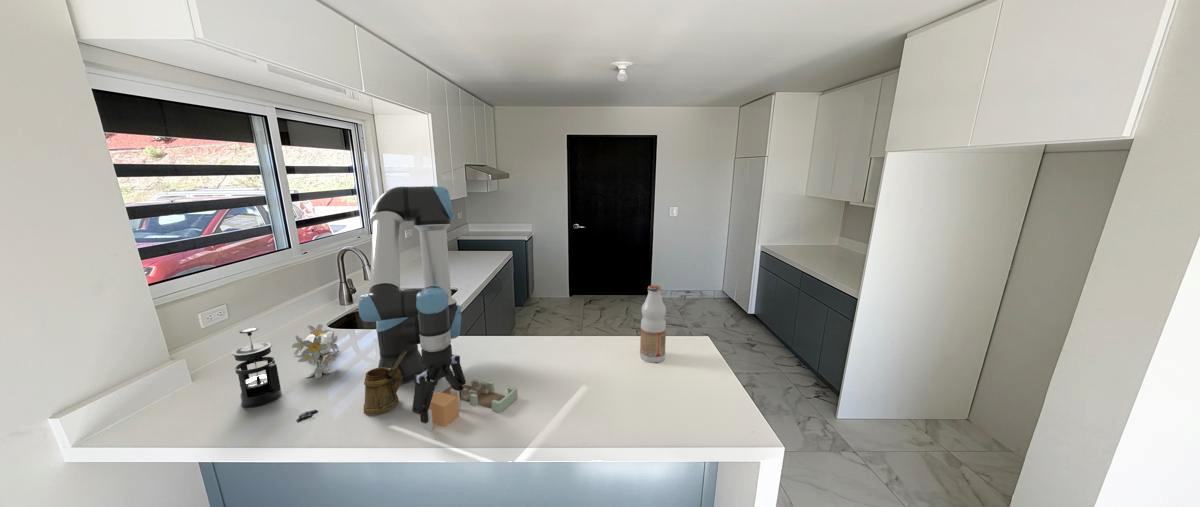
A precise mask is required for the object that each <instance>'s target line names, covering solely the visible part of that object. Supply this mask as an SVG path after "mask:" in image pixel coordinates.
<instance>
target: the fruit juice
mask: <svg viewBox="0 0 1200 507" xmlns="http://www.w3.org/2000/svg"><path fill="white" fill-rule="evenodd" d="M647 292H648V293H647V296H646V298H645V301H644V303H643V304H642V305H641V315H642V318H641V320H640V339H639V340H640V342H639V343H640V346H639V347H640V348H639V349H640V350H639V355H640V358H641V359H642V361H644V362H646V361H647V362H648V363H651V362H652V363H653V364H655V362H657V363H660V362H663V361H664V360H665V357H666V339H667V338H666V336H667V333H666V330H667V321H666V318H665V317H666V315H667V308H666V305H665V303H664V301H663V297H662V295H661V292H662V287H661V286H660V285H653V284H652V285H648V287H647ZM662 360H663V361H662Z"/></svg>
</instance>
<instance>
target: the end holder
mask: <svg viewBox="0 0 1200 507" xmlns="http://www.w3.org/2000/svg"><path fill="white" fill-rule="evenodd" d="M486 383H488V389H489V392H491V393H495V382H494V381H490V380H489V381H487V382H486ZM518 395H519V394H518V388H516V387H512V386H508V387H507V394H506V395H504V396H505V397H504V398H503V399H501V400H500V401H497V400H493V401H491V402H492V409H491V411H492V412H495V413H498V414H501V413H503V412H504V411H505V410H506V409H507V408H508V407H510V406H511V405H512V404H513V403H514V402H515V401H517V399H518V398H519V396H518ZM514 400H515V401H514ZM513 401H514V402H513ZM512 402H513V403H512ZM469 403H470V405H472V406H475V407H476V406H479V405H478V396H477V395H476V394H471V395H470V402H469ZM511 403H512V404H511ZM510 404H511V405H510ZM509 405H510V406H509ZM506 407H507V408H506ZM505 408H506V409H505ZM504 409H505V410H504ZM503 410H504V411H503ZM502 411H503V412H502Z"/></svg>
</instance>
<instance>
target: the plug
mask: <svg viewBox="0 0 1200 507" xmlns="http://www.w3.org/2000/svg"><path fill="white" fill-rule="evenodd" d="M429 409H430V410H431V411H432V422H433V424H437V425H440V426H442V427H445V428H446V427H447V426H448V425H450V424H451V423H453V421H455V420H456V419H457V418H458V417H460V414H459V411H460V410H458V397H456V396H453V395H449V394H446V393H443V391H437V392H436V393H433V396H432V400H431V403H430V407H429Z"/></svg>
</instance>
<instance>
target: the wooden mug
mask: <svg viewBox="0 0 1200 507" xmlns="http://www.w3.org/2000/svg"><path fill="white" fill-rule="evenodd" d="M406 353H407V351H406V349H405V350H404V351H403V352H402V353H401V355H400V356H399V357H398V358H397V360H396V361H395V363H394V364H393V365H392V367H391V368H385V367H380V368H378V367H375V368H372V369H370V370H368V371H367V372H366V373H365V377H364V381H363V385H364V404H363V413H364V414H365V415H367V416H377V415H382V414H384V413H388V412H390V411H391V410H393V409H394V408H396V406H398V403H399V397H398V396H399V395H398V394H397V392H398V390H399V388H400V386H401V385H402V384H401V382H402V375H401V372H400V370H399V369H398V368H397V366H398V365H399V363H400V362H401V360H402V359H403V357H404V356H405V354H406ZM393 377H394V378H395V379H396V382H395V384H393V383H392V378H393Z"/></svg>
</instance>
